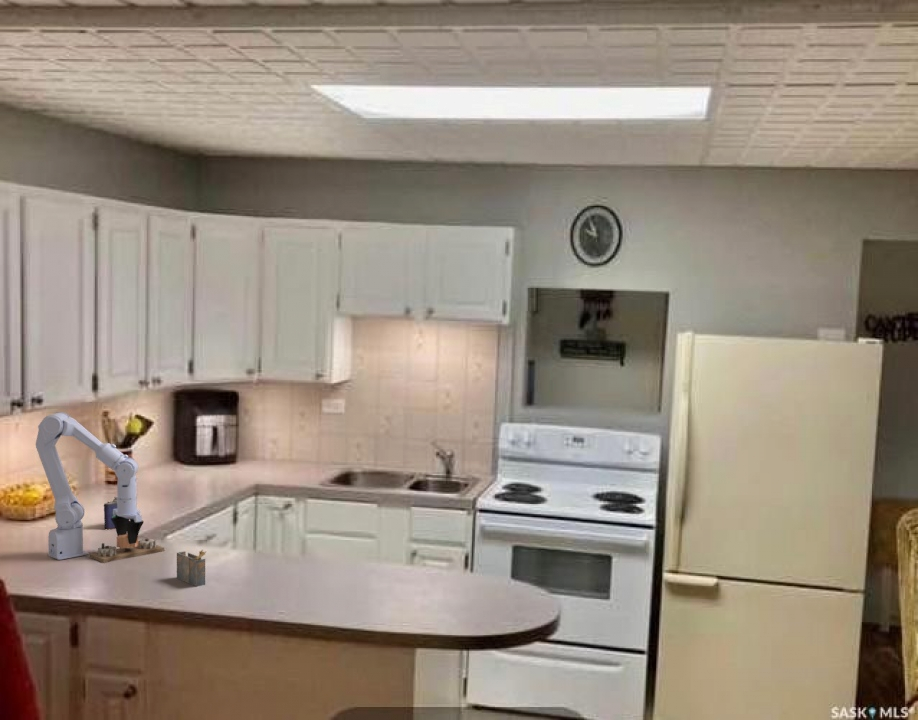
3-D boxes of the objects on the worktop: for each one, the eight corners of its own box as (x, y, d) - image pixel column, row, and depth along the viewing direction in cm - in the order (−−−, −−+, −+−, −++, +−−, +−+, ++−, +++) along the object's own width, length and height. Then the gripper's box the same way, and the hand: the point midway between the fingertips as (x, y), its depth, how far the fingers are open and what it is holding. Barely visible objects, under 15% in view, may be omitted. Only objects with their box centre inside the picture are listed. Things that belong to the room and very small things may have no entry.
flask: (123, 524, 335) (123, 494, 335) (129, 525, 334) (129, 494, 334) (102, 529, 327) (102, 498, 327) (108, 530, 326) (108, 499, 325)
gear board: (103, 562, 284) (103, 546, 284) (89, 557, 290) (89, 540, 290) (164, 550, 299) (164, 535, 298) (149, 545, 305) (149, 530, 305)
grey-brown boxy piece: (206, 586, 263) (206, 551, 262) (196, 588, 261) (196, 553, 260) (186, 577, 271) (186, 543, 270) (176, 579, 269) (176, 545, 268)
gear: (123, 549, 290) (122, 539, 290) (113, 545, 294) (113, 536, 294) (141, 545, 295) (141, 536, 294) (131, 542, 299) (131, 533, 299)
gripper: (150, 499, 292) (151, 543, 292) (127, 493, 302) (128, 535, 302) (129, 502, 286) (129, 547, 287) (106, 496, 296) (106, 539, 297)
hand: (127, 541), depth 294 cm, fingers closed on gear, 6 cm apart
